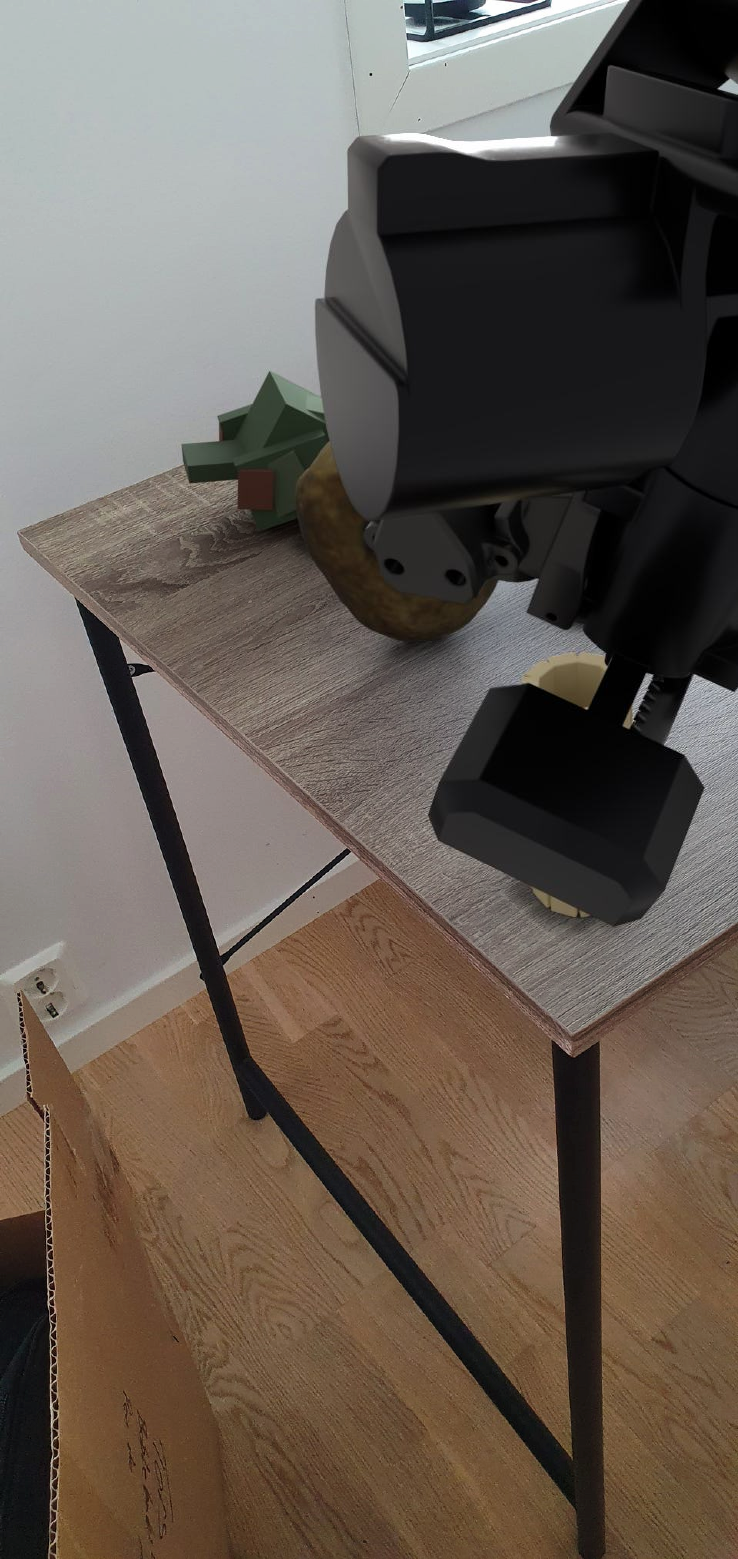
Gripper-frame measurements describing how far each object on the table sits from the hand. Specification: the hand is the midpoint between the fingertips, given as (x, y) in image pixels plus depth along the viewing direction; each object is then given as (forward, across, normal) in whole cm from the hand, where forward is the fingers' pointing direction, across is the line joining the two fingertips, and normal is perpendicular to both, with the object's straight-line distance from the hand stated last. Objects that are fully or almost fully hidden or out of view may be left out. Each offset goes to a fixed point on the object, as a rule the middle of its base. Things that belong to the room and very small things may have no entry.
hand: (575, 758), depth 40 cm
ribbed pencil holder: (+17, -5, +3) cm, 18 cm away
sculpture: (+26, -22, -12) cm, 37 cm away
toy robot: (+35, -36, -26) cm, 56 cm away
